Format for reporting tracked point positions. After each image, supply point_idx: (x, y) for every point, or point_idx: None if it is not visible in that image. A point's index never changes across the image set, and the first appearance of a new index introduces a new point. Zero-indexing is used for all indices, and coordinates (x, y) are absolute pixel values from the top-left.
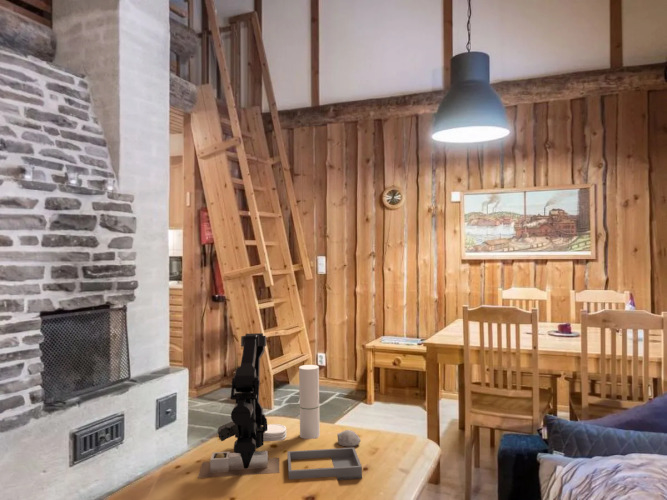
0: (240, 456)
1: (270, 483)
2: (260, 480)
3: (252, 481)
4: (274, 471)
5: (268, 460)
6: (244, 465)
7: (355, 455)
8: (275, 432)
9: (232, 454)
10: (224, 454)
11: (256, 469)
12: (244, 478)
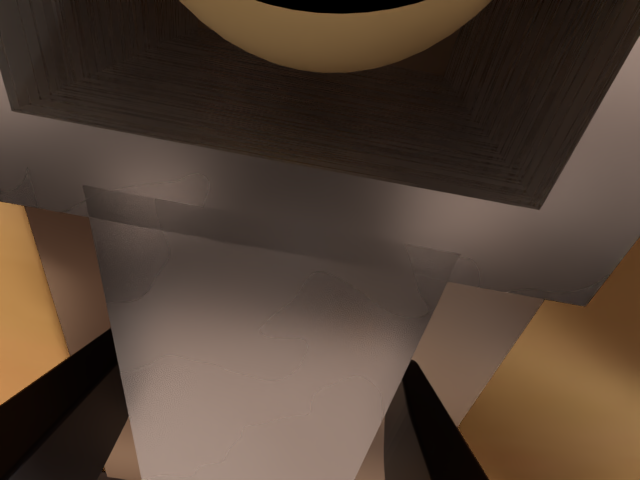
0: (133, 434)
1: (4, 389)
2: (52, 347)
3: (23, 293)
4: (131, 462)
5: (367, 475)
6: (96, 348)
7: None
8: None
9: (292, 331)
10: (569, 73)
11: None
12: None
